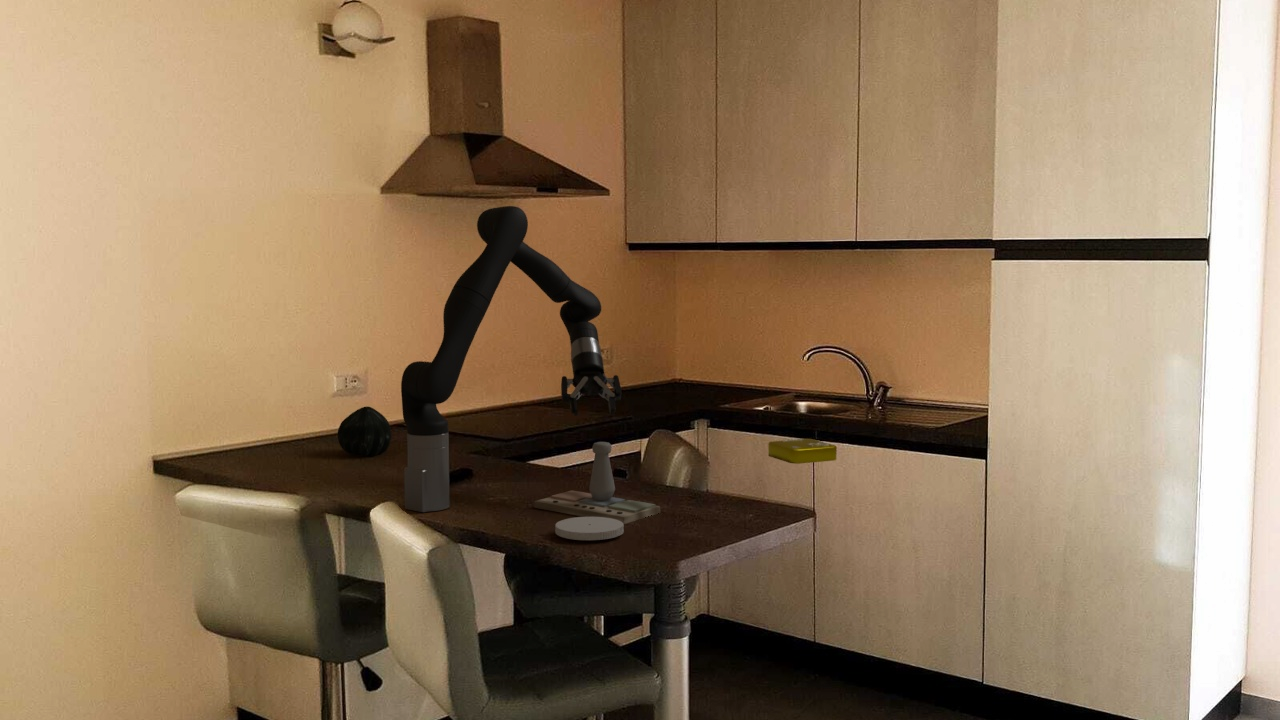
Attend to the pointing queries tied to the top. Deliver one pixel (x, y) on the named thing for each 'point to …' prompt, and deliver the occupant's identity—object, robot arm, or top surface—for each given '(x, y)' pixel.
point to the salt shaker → (602, 473)
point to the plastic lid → (589, 528)
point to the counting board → (597, 506)
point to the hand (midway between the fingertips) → (594, 413)
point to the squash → (365, 432)
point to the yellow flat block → (802, 451)
